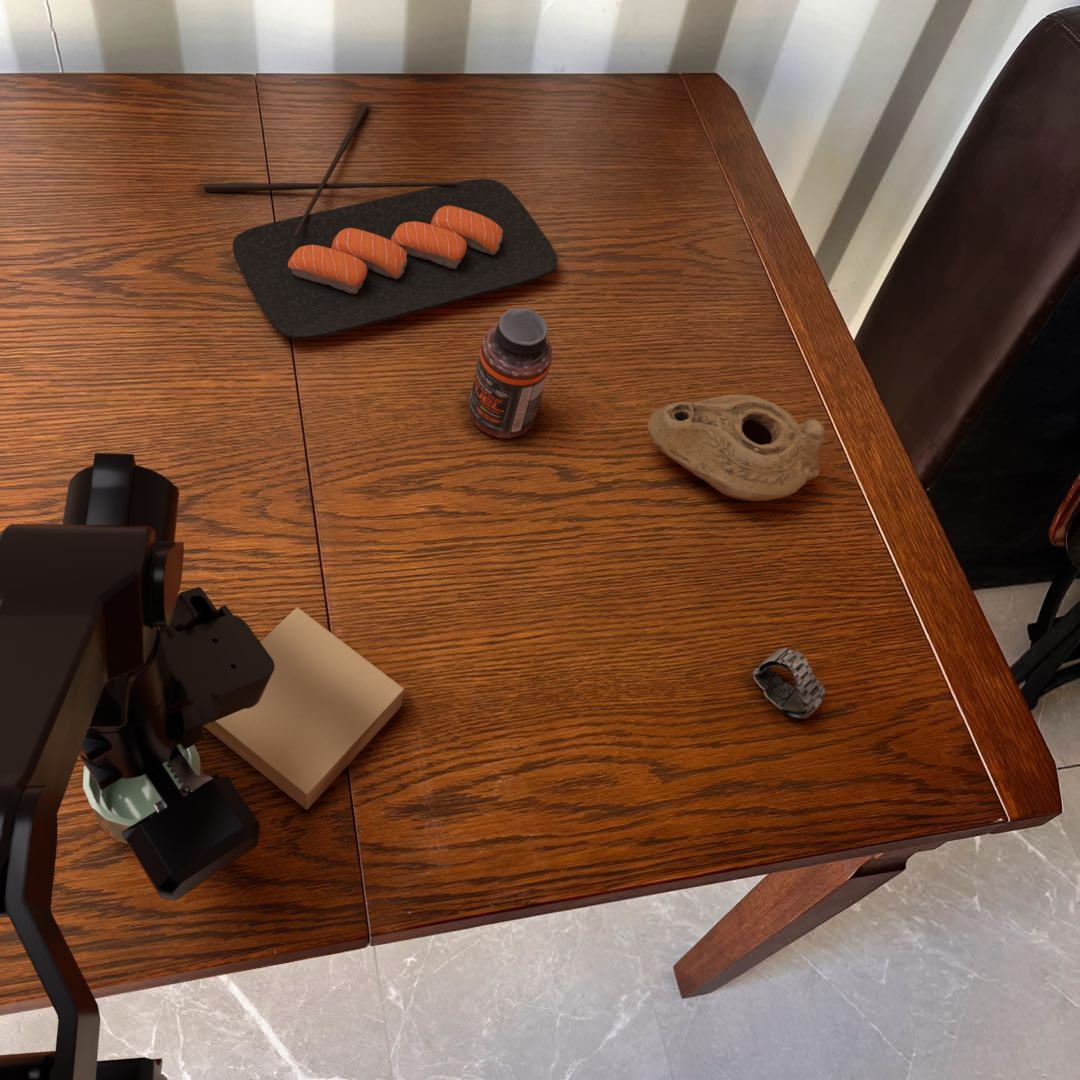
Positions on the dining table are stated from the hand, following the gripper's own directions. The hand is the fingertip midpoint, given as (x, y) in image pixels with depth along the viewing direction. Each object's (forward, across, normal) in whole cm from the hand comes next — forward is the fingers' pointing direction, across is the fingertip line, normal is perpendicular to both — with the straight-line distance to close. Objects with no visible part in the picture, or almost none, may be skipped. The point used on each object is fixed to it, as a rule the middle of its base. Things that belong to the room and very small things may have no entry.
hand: (147, 788), depth 69 cm
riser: (+3, 0, -11) cm, 12 cm away
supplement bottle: (+3, +14, -41) cm, 43 cm away
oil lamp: (+3, -1, -54) cm, 54 cm away
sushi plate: (+3, +41, -45) cm, 61 cm away
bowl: (+2, 0, 0) cm, 2 cm away
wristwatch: (+3, -20, -42) cm, 47 cm away
